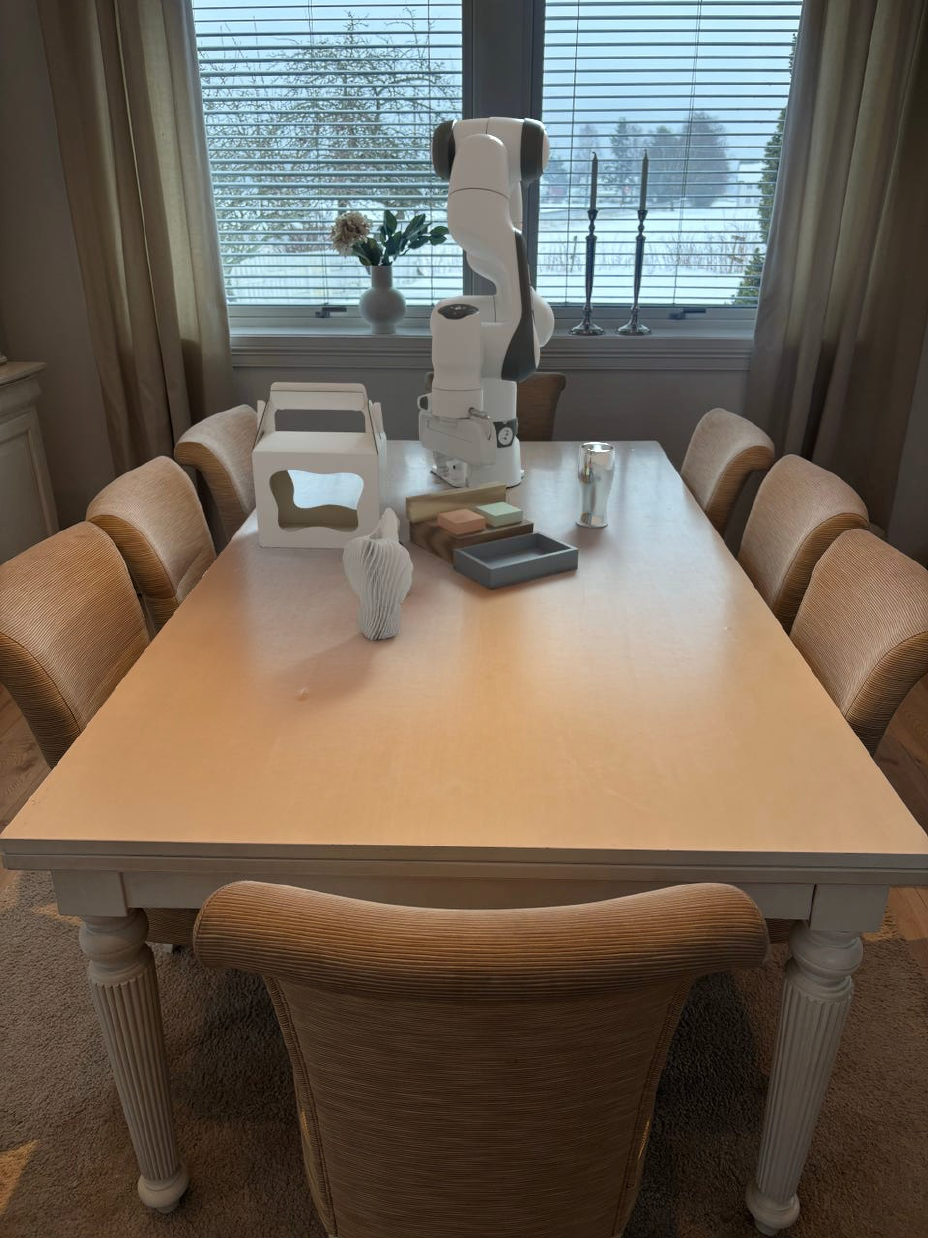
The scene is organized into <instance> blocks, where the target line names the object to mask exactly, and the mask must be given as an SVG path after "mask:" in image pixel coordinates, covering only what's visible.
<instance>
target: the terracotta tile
mask: <svg viewBox="0 0 928 1238" xmlns="http://www.w3.org/2000/svg"><path fill="white" fill-rule="evenodd" d="M437 525H438V526H440V527H442V528H444V529H446V530H448V531H450V532H452V533H454V534H456V535H457V534H462V533H467V532H472V531H477V530H482V529H485V517H483V516H481V515H479V514H476V513H474V512H472V511H470V510H468V509H462V510H457V511H452V512H446V513H441V514H437Z"/></svg>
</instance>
